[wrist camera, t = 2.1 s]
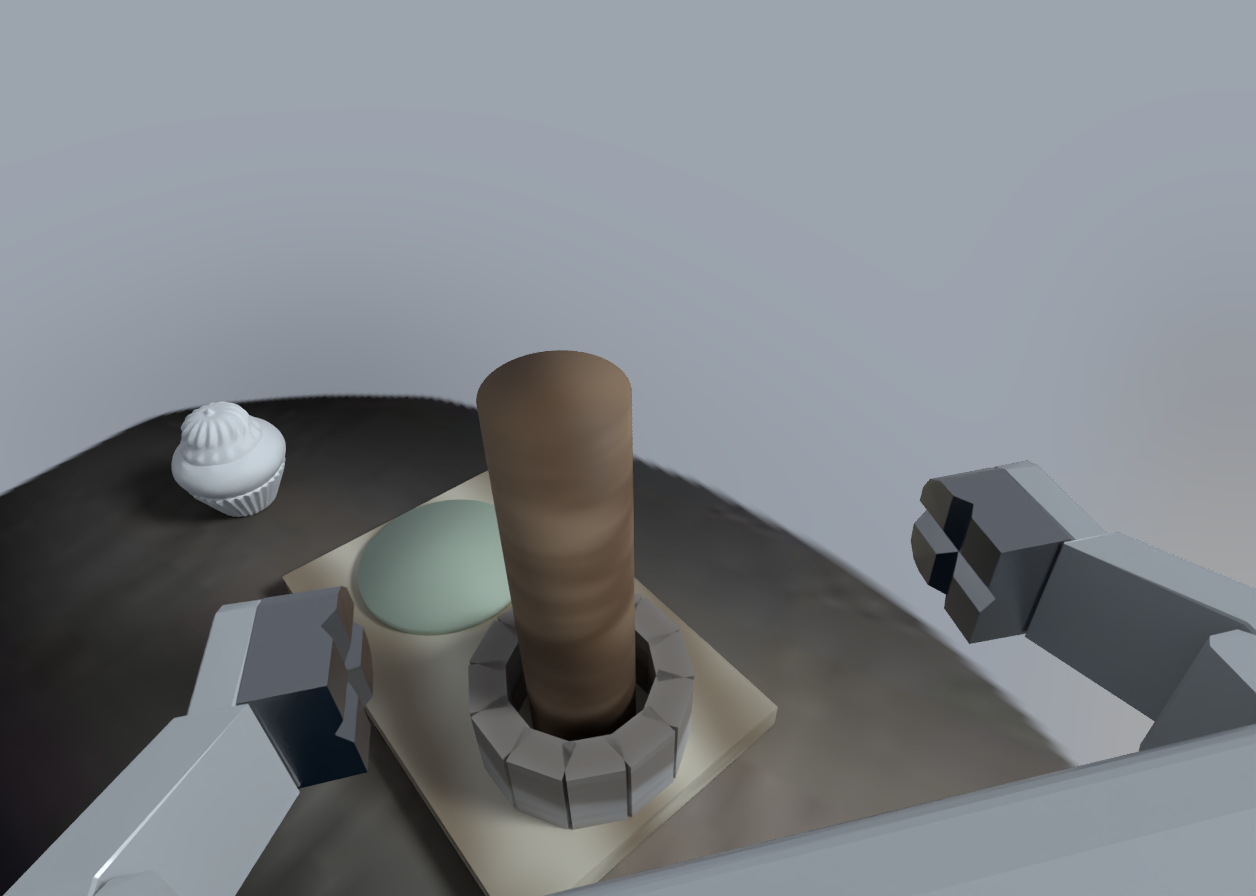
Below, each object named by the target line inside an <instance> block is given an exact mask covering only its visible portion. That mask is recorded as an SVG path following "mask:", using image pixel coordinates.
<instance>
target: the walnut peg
mask: <svg viewBox="0 0 1256 896" xmlns="http://www.w3.org/2000/svg"><path fill="white" fill-rule="evenodd" d="M476 403H477V410H478V415H479V421H480V427H481V432H482V438H483V444H484V449H485V455H486V461H487V466H488V472H489V478H490V483H491V489H492V495H493V501H494V506H495V512H496V518H497V523H498V529H499V535H500V540H501V546H502V552H503V557H504V563H505V569H506V574H507V580H508V586H509V591H510V597H511V603H512V608H513V614H514V620H515V626H516V631H517V637H518V643H519V648H520V654H521V660H522V665H523V671H524V677H525V682H526V688H527V694H528V699H529V705H530V711H531V716H532V722H533V728H534V730H537V731H540V732H543V733H546V734H549V735H552V736H554V737H557V738H560V739H563V740H566V741H569V742H570V741H576V740H581V739H587V738H593V737H599V736H604V735H610V734H613V733H614V732H615V731H616V730H618V729H619V728H620V727H621V726H623V725H624V724H625V723H627V722H628V721H629V720H630V719H632V718H633V717H634V716H636V674H635V599H634V524H633V450H632V389H631V385H630V382H629V380H628V378H627V376H626V375H625V374H624V373H623V371H622V370H621V369H620V368H618V367H617V366H616V365H614V364H613V363H611V362H609V361H608V360H606V359H603V358H601V357H598V356H595V355H592V354H588V353H584V352H577V351H545V352H538V353H533V354H529V355H525V356H522V357H519V358H517V359H514V360H511V361H509V362H507V363H505V364H503V365H502V366H500V367H499V368H497V369H496V370H495V371H493V372H492V373H491V374H490V375H489V376H488V377H487V378H486V379H485V380H484V382H483V383H482V384H481V386H480V388H479V390H478V394H477V399H476Z"/></svg>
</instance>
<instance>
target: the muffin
mask: <svg viewBox="0 0 1256 896" xmlns="http://www.w3.org/2000/svg"><path fill="white" fill-rule="evenodd" d="M181 430H182V435H181V436H182V439H181V443H180V445H179V446H178V447H177V449H176V450H175V452H174V455H173V458H172V464H171V468H172V474H173V477H174V479H175V480H176V482H177V483H178V484H179V485H180V486H181V487H182V488H183V489H185V490H186V491H188V493H189V494H191V495H193V497H194V498H195V499H197V500H199V501H201V502H203V503H205V504H207V505H209V506H210V507H213V508H215V509H217V510H218V511H220V512H222V513H224V514H226V515H228V516H233V517H236V516H237V517H241V516H245V517H246V516H248V515H253V514H257V513H258V512H259V511H262V510H263V509H265V508H267V506H269V505H270V504H271V502H273V501H274V499H275V498H276V495H277V492H278V488H279V484H280V481H281V477H282V474H283V470H284V466H285V463H284V462H285V458H284V457H285V451H286V445H285V441H284V438H283V436H282V434H281V433H280V432H279V430H278V429H277V428H276V427H274V426H273V425H272V424H270V423H268V422H267V421H265V420H262V419H259V418H255V417H252V416H250V415H248V413H247V412H246V411H245V410H244V409H242V408H241V407H240V406H239V405H236V404H234V403H227V402H217V403H214V402H212V403H210V404H208V405H207V406H206V405H202V406H201V407H200V409H195V410H193V412H192V414H189V415H188V416H187V417H186V418H185V422H184V423H183V424H182V426H181Z"/></svg>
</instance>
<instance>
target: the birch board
mask: <svg viewBox="0 0 1256 896" xmlns="http://www.w3.org/2000/svg"><path fill="white" fill-rule="evenodd" d="M456 499H458V500H476V501H481V502H486V503H489V504H492V505H494V501H493V495H492V489H491V483H490V478H489V472H488V471H486V472H484V473H482V474H480V475H478V476H476V477H474V478H472V479H470V480H468V481H466V482H465V483H463V484H461V485H459V486H457V487H455V488H453V489H451V490H449V491H447V492H445V493H443V494H441V495H439V496H437V497H435V498H434V499H432V500H430V501H428V502H426V503H424V504H422V505H420V506H423V505H427V504H430V503H434V502H439V501H445V500H456ZM420 506H418V507H420ZM418 507H416V508H418ZM414 509H415V508H414ZM412 510H413V509H412ZM410 511H411V510H410ZM395 519H396V518H395ZM393 520H394V519H393ZM393 520H391V521H393ZM391 521H389V522H387V523H385V524H383V525H381V526H379V527H377V528H376V529H374V530H372V531H370V532H368V533H366V534H364V535H362V536H360V537H358V538H356V539H354V540H352V541H350V542H348V543H347V544H345V545H343V546H341V547H339V548H337V549H335V550H333V551H331V552H329V553H327V554H325V555H323V556H321V557H319V558H318V559H316V560H314V561H312V562H310V563H308V564H306V565H304V566H302V567H300V568H298V569H296V570H294V571H292V572H290V573H289V574H287V575H285V576H283V577H282V578H283V580H284V582H285V584H286V586H287V589H288V591H289V593H290V594H293V593H300V592H306V591H312V590H319V589H325V588H331V587H338V586H344V587H347V589H348V591H349V594H350V596H351V598H352V600H353V603H354V615H353V622H355V623H357V624H359V625H360V626H362V627H363V628H364V631H365V633H366V636H367V639H368V642H369V647H370V651H371V655H372V667H373V696H372V698H371V699H370V700H369V701H368V703H367V704H366V705H365V707H364V709H365V711H366V712H367V714H368V715H369V717H370V718H371V720H372V722H373V723H374V725H375V726H376V728H377V729H378V731H379V732H380V734H381V735H382V737H383V739H384V740H385V742H386V743H387V745H388V746H389V748H390V749H391V751H392V752H393V754H394V756H395V757H396V759H397V760H398V762H399V763H400V765H401V766H402V768H403V769H404V771H405V772H406V774H407V776H408V777H409V779H410V780H411V782H412V783H413V785H414V786H415V788H416V789H417V791H418V793H419V794H420V796H421V797H422V799H423V800H424V802H425V803H426V805H427V806H428V808H429V810H430V811H431V813H432V814H433V816H434V817H435V819H436V820H437V822H438V823H439V825H440V826H441V828H442V830H443V831H444V833H445V834H446V836H447V837H448V839H449V840H450V842H451V843H452V845H453V847H454V848H455V850H456V851H457V853H458V854H459V856H460V857H461V859H462V860H463V862H464V863H465V865H466V867H467V868H468V870H469V871H470V873H471V874H472V876H473V877H474V879H475V880H476V882H477V884H478V885H479V887H480V888H481V890H482V891H483V893H484V894H485V896H543V895H547V894H552V893H556V892H560V891H564V890H568V889H572V888H576V887H580V886H585V885H589V884H593V883H597V882H598V881H599V880H600V879H601V878H602V877H603V876H604V875H606V874H607V873H608V872H609V871H610V870H611V869H612V868H613V867H615V866H616V865H617V864H618V863H619V862H620V861H621V860H622V859H624V858H625V857H626V856H627V855H628V854H629V853H630V852H631V851H633V850H634V849H635V848H636V847H637V846H638V845H639V844H640V843H642V842H643V841H644V840H645V839H646V838H647V837H648V836H649V835H651V834H652V833H653V832H654V831H655V830H656V829H657V828H658V827H660V826H661V825H662V824H663V823H664V822H665V821H666V820H667V819H669V818H670V817H671V816H672V815H673V814H674V813H675V812H676V811H678V810H679V809H680V808H681V807H682V806H683V805H684V804H685V803H687V802H688V801H689V800H690V799H691V798H692V797H693V796H694V795H696V794H697V793H698V792H699V791H700V790H701V789H702V788H703V787H705V786H706V785H707V784H708V783H709V782H710V781H711V780H712V779H714V778H715V777H716V776H717V775H718V774H719V773H720V772H721V771H723V770H724V769H725V768H726V767H727V766H728V765H729V764H730V763H732V762H733V761H734V760H735V759H736V758H737V757H738V756H739V755H741V754H742V753H743V752H744V751H745V750H746V749H747V748H748V747H750V746H751V745H752V744H753V743H754V742H755V741H756V740H757V739H759V738H760V737H761V736H762V735H763V734H764V733H765V732H766V731H768V730H769V729H770V728H771V727H772V726H773V725H774V722H775V718H776V713H777V708H778V707H777V706H776V705H775V704H774V703H773V702H772V701H771V700H769V699H768V698H767V697H766V696H765V695H764V694H763V693H762V692H761V691H759V690H758V689H757V688H756V687H755V686H754V685H753V684H752V683H751V682H749V681H748V680H747V679H746V678H745V677H744V676H743V675H742V674H741V673H740V672H738V671H737V670H736V669H735V668H734V667H733V666H732V665H731V664H730V663H728V662H727V661H726V660H725V659H724V658H723V657H722V656H721V655H720V654H719V653H717V652H716V651H715V650H714V649H713V648H712V647H711V646H710V645H709V644H707V643H706V642H705V641H704V640H703V639H702V638H701V637H700V636H699V635H697V634H696V633H695V632H694V631H693V630H692V629H691V628H690V627H689V626H688V625H686V624H685V623H684V622H683V621H682V620H681V619H680V618H679V617H678V616H676V615H675V614H674V613H673V612H672V611H671V610H670V609H669V608H668V607H667V606H665V605H664V604H663V603H662V602H661V601H660V600H659V599H658V598H657V597H655V596H654V595H653V594H652V593H651V592H650V591H649V590H648V589H647V588H645V587H644V586H643V585H642V584H641V583H640V582H639V581H638V580H637V579H636V578H634V599H635V674H636V716H634V717H633V718H632V719H630V720H629V721H628V722H627V723H625V724H624V725H623V726H621V727H620V728H619V729H618V730H616V731H615V732H614V733H613V734H610V735H604V736H599V737H593V738H587V739H581V740H576V741H570V742H569V741H566V740H563V739H560V738H557V737H554V736H552V735H549V734H546V733H543V732H540V731H537V730H534V728H533V722H532V716H531V711H530V705H529V699H528V694H527V688H526V682H525V677H524V671H523V665H522V660H521V654H520V648H519V643H518V637H517V631H516V626H515V620H514V614H513V608H512V603H511V604H510V605H508V606H507V607H506V608H505V609H504V610H503V611H502V612H500V613H499V614H497V615H496V616H494V617H493V618H491V619H489V620H488V621H486V622H484V623H482V624H480V625H478V626H475V627H473V628H470V629H467V630H464V631H461V632H457V633H452V634H447V635H437V636H422V635H414V634H409V633H405V632H401V631H398V630H395V629H393V628H391V627H389V626H387V625H385V624H384V623H382V622H381V621H379V620H378V619H377V618H376V617H374V615H373V614H372V613H371V612H370V611H369V610H368V608H367V606H366V605H365V603H364V601H363V598H362V595H361V593H360V590H359V586H358V568H359V563H360V560H361V557H362V555H363V553H364V551H365V549H366V547H367V546H368V544H369V543H370V541H371V540H372V539H373V538H374V537H375V535H376V534H377V533H378V532H379V531H380V530H381V529H382V528H384V527H385V526H386V525H387V524H388V523H390V522H391Z"/></svg>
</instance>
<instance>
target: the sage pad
mask: <svg viewBox="0 0 1256 896" xmlns="http://www.w3.org/2000/svg"><path fill="white" fill-rule="evenodd" d="M358 586H359V590H360V593H361V595H362V598H363V601H364V603H365V605H366V606H367V608H368V610H369V611H370V612H371V613H372V614H373V615H374V617H376V618H377V619H378V620H379V621H381V622H382V623H384V624H385V625H387V626H389V627H391V628H393V629H395V630H398V631H401V632H405V633H409V634H414V635H422V636H437V635H447V634H452V633H457V632H461V631H464V630H467V629H470V628H473V627H475V626H478V625H480V624H482V623H484V622H486V621H488V620H489V619H491V618H493V617H494V616H496V615H497V614H499V613H500V612H502V611H503V610H504V609H505V608H506V607H507V606H508V605H510V604H511V597H510V591H509V586H508V580H507V574H506V569H505V563H504V557H503V552H502V546H501V540H500V535H499V529H498V523H497V518H496V512H495V506H494V505H492V504H489V503H486V502H481V501H476V500H458V499H456V500H445V501H439V502H434V503H430V504H427V505H423V506H420V507H418V508H415V509H413V510H411V511H408V512H406V513H404V514H402V515H401V516H399V517H397V518H396V519H394V520H393V521H391V522H390V523H388V524H387V525H386V526H385V527H384V528H382V529H381V530H380V531H379V532H378V533H377V534H376V535H375V537H374V538H373V539H372V540H371V541H370V543H369V544H368V546H367V547H366V549H365V551H364V553H363V555H362V557H361V560H360V563H359V568H358Z"/></svg>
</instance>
